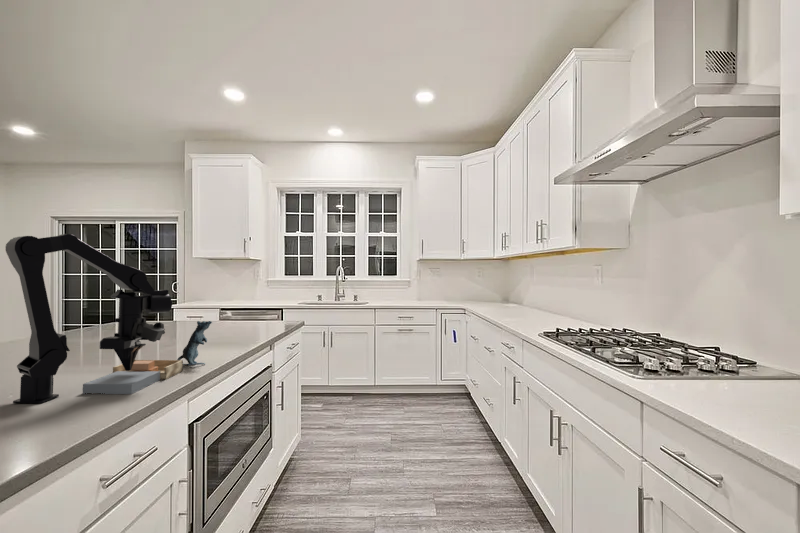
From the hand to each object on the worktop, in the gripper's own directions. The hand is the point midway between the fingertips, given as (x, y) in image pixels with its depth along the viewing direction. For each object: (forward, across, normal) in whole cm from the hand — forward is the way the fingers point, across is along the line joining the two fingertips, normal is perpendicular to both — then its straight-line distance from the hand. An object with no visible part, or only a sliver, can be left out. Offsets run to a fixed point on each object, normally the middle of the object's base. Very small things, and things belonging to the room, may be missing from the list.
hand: (128, 370), depth 126 cm
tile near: (+1, +9, +1) cm, 9 cm away
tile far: (+3, +10, 0) cm, 11 cm away
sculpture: (+4, +29, -7) cm, 30 cm away
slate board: (+4, -2, 0) cm, 4 cm away
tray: (+4, +12, 0) cm, 13 cm away
